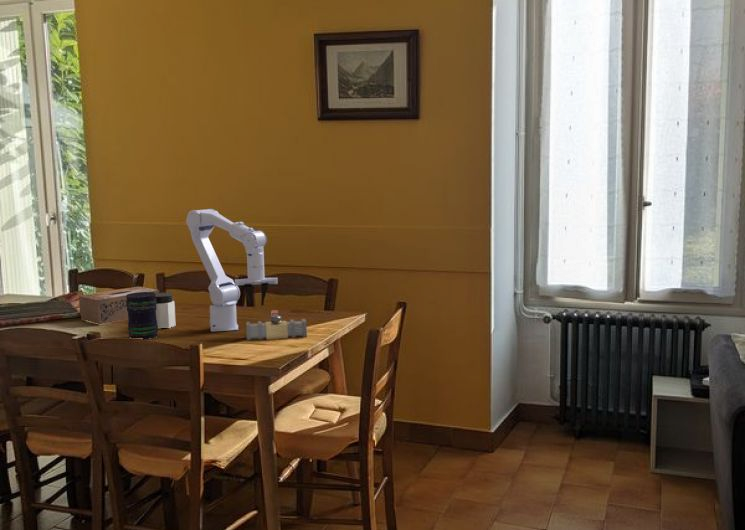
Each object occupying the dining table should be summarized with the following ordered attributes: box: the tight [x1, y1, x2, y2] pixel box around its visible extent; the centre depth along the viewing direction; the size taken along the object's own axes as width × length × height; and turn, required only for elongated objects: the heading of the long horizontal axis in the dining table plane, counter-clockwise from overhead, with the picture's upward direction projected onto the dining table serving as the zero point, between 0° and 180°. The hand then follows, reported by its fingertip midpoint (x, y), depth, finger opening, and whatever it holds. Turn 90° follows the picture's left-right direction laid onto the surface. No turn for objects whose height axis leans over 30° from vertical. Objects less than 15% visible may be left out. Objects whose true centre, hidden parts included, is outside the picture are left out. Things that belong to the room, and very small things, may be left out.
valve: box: [245, 318, 308, 341], centre depth 250 cm, size 20×6×5 cm, turn 100°
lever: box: [270, 309, 283, 323], centre depth 254 cm, size 13×4×2 cm, turn 10°
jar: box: [155, 292, 176, 329], centre depth 268 cm, size 9×8×12 cm
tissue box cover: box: [78, 286, 160, 324], centre depth 287 cm, size 26×14×10 cm, turn 138°
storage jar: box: [126, 292, 159, 339], centre depth 253 cm, size 10×10×15 cm
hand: (257, 305), depth 255 cm, fingers open, 3 cm apart
